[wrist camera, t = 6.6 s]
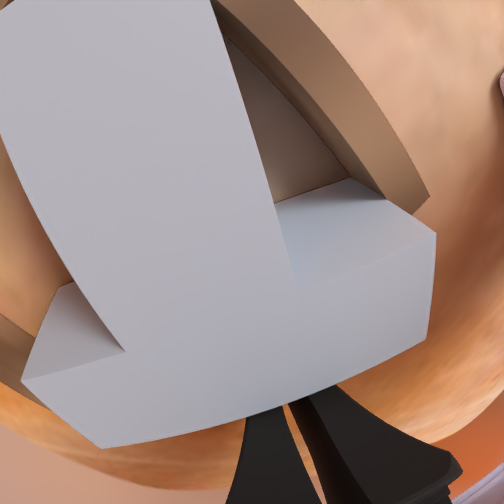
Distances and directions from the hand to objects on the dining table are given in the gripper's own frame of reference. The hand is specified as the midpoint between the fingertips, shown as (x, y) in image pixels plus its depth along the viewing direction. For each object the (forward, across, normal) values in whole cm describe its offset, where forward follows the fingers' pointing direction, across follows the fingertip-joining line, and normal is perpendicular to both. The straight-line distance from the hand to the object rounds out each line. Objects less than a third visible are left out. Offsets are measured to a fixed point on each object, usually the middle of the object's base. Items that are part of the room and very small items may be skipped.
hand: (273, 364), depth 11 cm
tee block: (+1, +2, -7) cm, 7 cm away
